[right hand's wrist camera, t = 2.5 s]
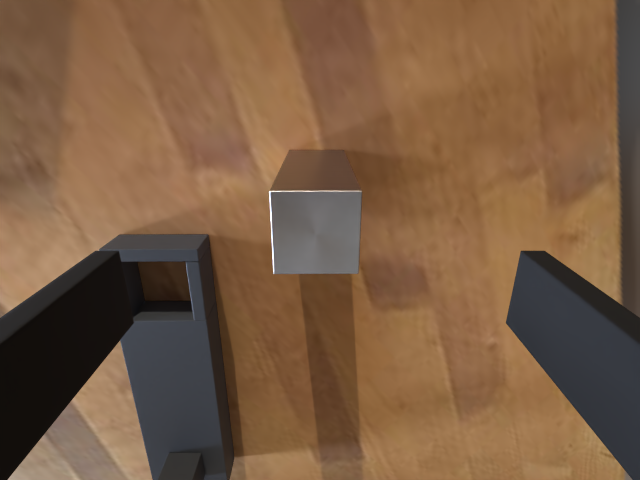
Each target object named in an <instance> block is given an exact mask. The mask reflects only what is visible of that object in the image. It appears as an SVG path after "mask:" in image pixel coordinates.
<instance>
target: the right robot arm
mask: <svg viewBox="0 0 640 480" xmlns="http://www.w3.org/2000/svg"><path fill="white" fill-rule="evenodd" d="M133 324H134V320H133V315H132V311H131V306H130V301H129V296H128V292H127V287H126V282H125V277H124V273H123V268H122V263H121V258H120V253H119V251H95V252H93V253H92V254H90V255H89V256H88V257H86V258H85V259H83V260H82V261H80V262H79V263H78V264H76V265H75V266H73V267H72V268H70V269H69V270H68V271H66V272H65V273H63V274H62V275H61V276H59V277H58V278H56V279H55V280H53V281H52V282H51V283H49V284H48V285H46V286H45V287H43V288H42V289H41V290H39V291H38V292H36V293H35V294H34V295H32V296H31V297H29V298H28V299H26V300H25V301H24V302H22V303H21V304H19V305H18V306H17V307H15V308H14V309H12V310H11V311H9V312H8V313H7V314H5V315H4V316H2V317H1V318H0V480H7V479H8V478H9V477H10V476H11V474H12V473H13V472H14V471H15V470H16V468H17V467H18V466H19V465H20V463H21V462H22V461H23V460H24V458H25V457H26V456H27V455H28V453H29V452H30V451H31V450H32V448H33V447H34V446H35V445H36V444H37V442H38V441H39V440H40V439H41V437H42V436H43V435H44V434H45V432H46V431H47V430H48V429H49V427H50V426H51V425H52V424H53V423H54V421H55V420H56V419H57V418H58V416H59V415H60V414H61V413H62V411H63V410H64V409H65V408H66V406H67V405H68V404H69V403H70V401H71V400H72V399H73V398H74V397H75V395H76V394H77V393H78V392H79V390H80V389H81V388H82V387H83V385H84V384H85V383H86V382H87V380H88V379H89V378H90V377H91V375H92V374H93V373H94V372H95V371H96V369H97V368H98V367H99V366H100V364H101V363H102V362H103V361H104V359H105V358H106V357H107V356H108V354H109V353H110V352H111V351H112V350H113V348H114V347H115V346H116V345H117V343H118V342H119V341H120V340H121V338H122V337H123V336H124V335H125V333H126V332H127V331H128V330H129V328H130V327H131V326H132V325H133ZM506 324H507V325H508V326H509V327H510V328H511V330H512V331H513V332H514V333H515V335H516V336H517V337H518V338H519V340H520V341H521V342H522V343H523V345H524V346H525V347H526V348H527V350H528V351H529V352H530V353H531V354H532V356H533V357H534V358H535V359H536V361H537V362H538V363H539V364H540V366H541V367H542V368H543V369H544V371H545V372H546V373H547V374H548V375H549V377H550V378H551V379H552V380H553V382H554V383H555V384H556V385H557V387H558V388H559V389H560V390H561V392H562V393H563V394H564V395H565V397H566V398H567V399H568V400H569V401H570V403H571V404H572V405H573V406H574V408H575V409H576V410H577V411H578V413H579V414H580V415H581V416H582V418H583V419H584V420H585V421H586V423H587V424H588V425H589V426H590V427H591V429H592V430H593V431H594V432H595V434H596V435H597V436H598V437H599V439H600V440H601V441H602V442H603V444H604V445H605V446H606V447H607V448H608V450H609V451H610V452H611V453H612V455H613V456H614V457H615V458H616V460H617V461H618V462H619V463H620V465H621V466H622V467H623V468H624V470H625V471H626V472H627V473H628V474H629V476H630V477H631V478H632V479H633V480H640V318H639V317H638V316H636V315H635V314H633V313H632V312H631V311H629V310H628V309H626V308H625V307H623V306H622V305H621V304H619V303H618V302H616V301H615V300H614V299H612V298H611V297H609V296H608V295H606V294H605V293H604V292H602V291H601V290H599V289H598V288H597V287H595V286H594V285H592V284H591V283H589V282H588V281H587V280H585V279H584V278H582V277H581V276H579V275H578V274H577V273H575V272H574V271H572V270H571V269H570V268H568V267H567V266H565V265H564V264H562V263H561V262H560V261H558V260H557V259H555V258H554V257H552V256H551V255H550V254H548V253H547V252H545V251H521V253H520V258H519V263H518V268H517V273H516V277H515V282H514V287H513V292H512V296H511V301H510V306H509V311H508V315H507V320H506Z"/></svg>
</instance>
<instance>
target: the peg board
mask: <svg viewBox="0 0 640 480" xmlns="http://www.w3.org/2000/svg"><path fill="white" fill-rule="evenodd" d="M209 246H210V244H209V235H208V234H173V235H118V236H117V237H115V238H114V239H113V240H111V241H110V242H109V243H107V244H106V245H105V246H103V247H102V248H100V249H99V251H119V253H120V258H121V263H122V268H123V273H124V277H125V282H126V287H127V292H128V296H129V301H130V306H131V311H132V315H133V320H134V324H133V325H132V326H131V327H130V328H129V330H128V331H127V332H126V333H125V335H124V336H123V337H122V338H121V340H120V341H121V346H122V350H123V354H124V358H125V363H126V367H127V371H128V376H129V380H130V384H131V388H132V393H133V397H134V401H135V406H136V410H137V414H138V418H139V423H140V427H141V431H142V436H143V440H144V444H145V448H146V453H147V457H148V461H149V466H150V470H151V474H152V478H153V480H229V479H230V475H231V471H232V466H233V462H234V451H233V442H232V433H231V425H230V416H229V408H228V399H227V390H226V382H225V373H224V364H223V356H222V347H221V339H220V330H219V321H218V313H217V304H216V297H215V288H214V280H213V271H212V263H211V254H210V247H209ZM183 261H186V268H187V275H188V282H189V289H190V296H191V301H145V299H144V294H143V289H142V284H141V279H140V274H139V269H138V264H137V262H183Z"/></svg>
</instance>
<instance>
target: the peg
mask: <svg viewBox="0 0 640 480" xmlns="http://www.w3.org/2000/svg"><path fill="white" fill-rule="evenodd" d="M269 195H270V214H271V234H272V254H273V273H274V274H358V273H359V255H360V231H361V207H362V190H361V188H360V186H359V183H358V181H357V179H356V176H355V174H354V172H353V170H352V167H351V165H350V163H349V161H348V158H347V156H346V154H345V152H344V150H289V151H288V153H287V156H286V158H285V160H284V162H283V164H282V166H281V168H280V170H279V172H278V175H277V177H276V179H275V181H274V183H273V185H272V187H271V189H270V191H269Z"/></svg>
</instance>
